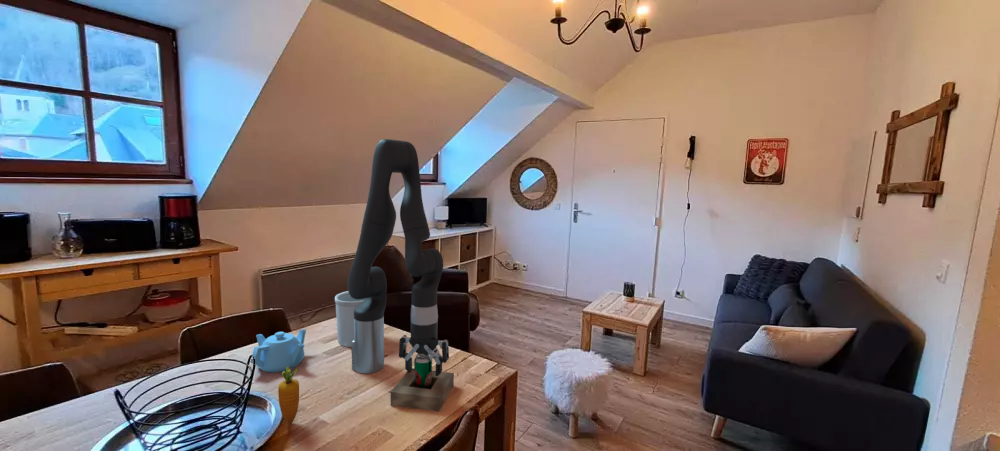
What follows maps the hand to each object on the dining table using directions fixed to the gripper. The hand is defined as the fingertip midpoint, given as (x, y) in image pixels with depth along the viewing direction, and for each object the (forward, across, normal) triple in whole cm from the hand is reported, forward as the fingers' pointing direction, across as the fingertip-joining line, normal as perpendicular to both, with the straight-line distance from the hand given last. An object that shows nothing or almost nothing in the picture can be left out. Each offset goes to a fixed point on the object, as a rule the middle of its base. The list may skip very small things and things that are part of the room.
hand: (423, 373), depth 116 cm
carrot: (+7, -28, -20) cm, 35 cm away
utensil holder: (+7, -38, +31) cm, 50 cm away
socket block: (+7, 0, 0) cm, 7 cm away
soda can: (+7, 0, 0) cm, 7 cm away
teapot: (+7, -52, +8) cm, 53 cm away
